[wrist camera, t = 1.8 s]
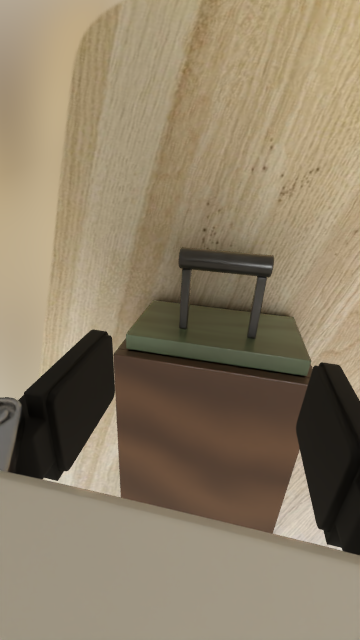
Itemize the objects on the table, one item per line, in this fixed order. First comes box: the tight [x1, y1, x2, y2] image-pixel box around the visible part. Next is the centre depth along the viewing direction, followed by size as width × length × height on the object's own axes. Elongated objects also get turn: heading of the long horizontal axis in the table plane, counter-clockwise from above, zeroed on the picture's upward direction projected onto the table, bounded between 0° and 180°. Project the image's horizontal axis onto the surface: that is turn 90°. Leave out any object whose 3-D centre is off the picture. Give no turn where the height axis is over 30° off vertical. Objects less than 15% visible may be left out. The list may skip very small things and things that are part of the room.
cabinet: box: [114, 339, 313, 534], centre depth 26 cm, size 16×14×9 cm
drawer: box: [126, 247, 311, 376], centre depth 24 cm, size 20×12×7 cm, turn 177°
